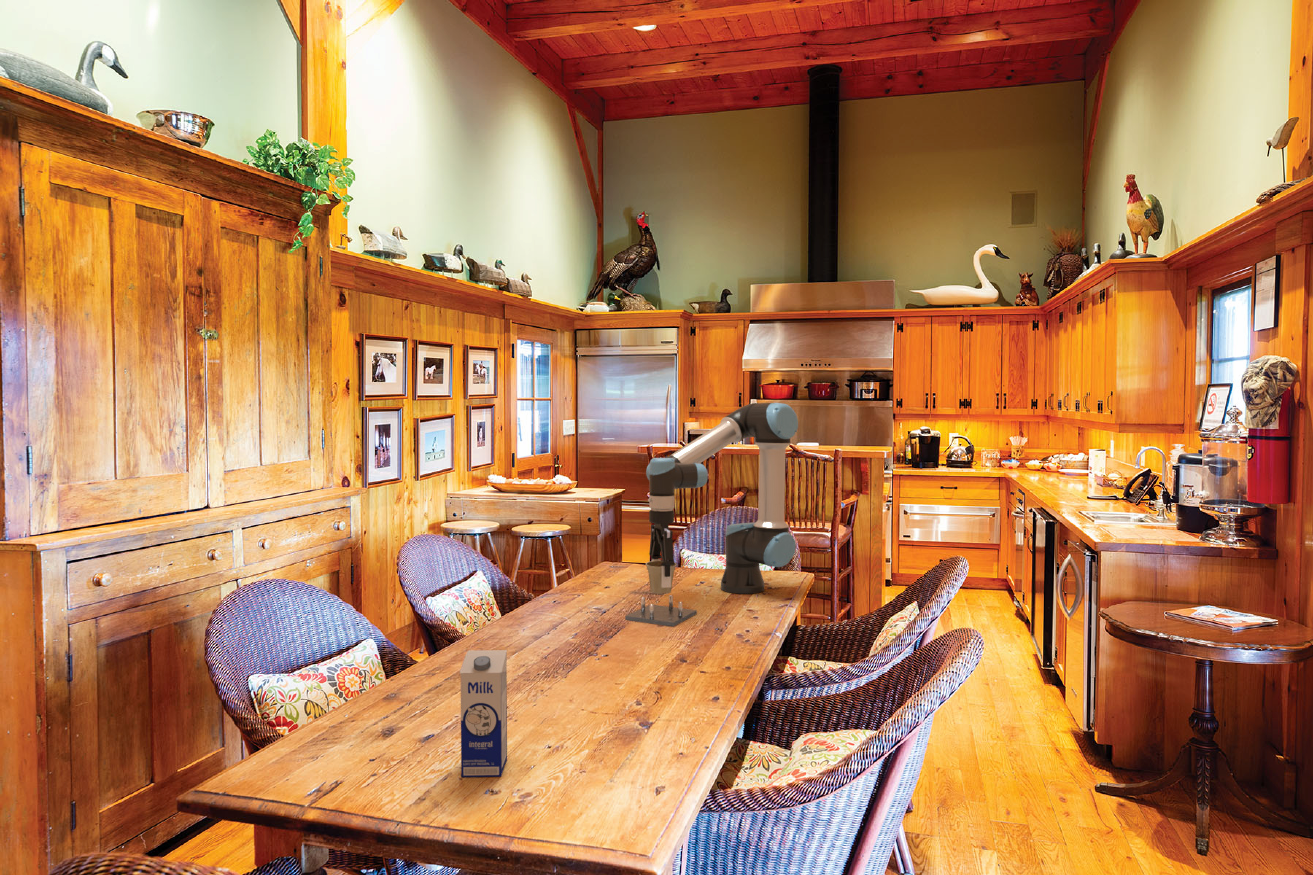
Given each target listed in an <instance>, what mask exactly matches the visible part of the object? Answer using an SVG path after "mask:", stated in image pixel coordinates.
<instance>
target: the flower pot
mask: <svg viewBox="0 0 1313 875" xmlns="http://www.w3.org/2000/svg"><path fill="white" fill-rule="evenodd" d="M662 563H663V561H662V560H661V561H652V560H651V561H647V562H646V563H645V566H646V570H647V572H648V582H649V588H650V592H651V593H652V594H655V595H663V594H666V595H668V594H670V593H672V588H673V587H672V586H673V580H674V579H673V578H674V574H675V570H676V567H677V566H678V565H677V562H675V561H674V564H672V565H671V587H667V588H662V566H661V564H662Z"/></svg>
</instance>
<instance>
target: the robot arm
mask: <svg viewBox="0 0 1313 875" xmlns="http://www.w3.org/2000/svg"><path fill="white" fill-rule="evenodd" d="M798 428H799V419H798V416H797V413H796V411H795V410H794V409H793V408H792V407H791V406H790V405H789V404H787V403H781V402H760V403H759V402H755V403H754V402H753V403H749V404H745V405H743V406H742V407H739V408H737V409H736V410H734V411H732V412H731V413H729V414H728V415H726V416H725V417H723V418H722V419H721V420H720V423H719V424H717V425H716V426H714V427H713V428H711V429H710V430H707V431H706V432H704V433H703V434H702V435H700V436H698V437H697V438H695V439H694V440H692V441H690V442H689V443H688V444H686V445H684V446H683V447H681V448H679V449H678V450H676V451H675V452H674V453H672V454H670V455H669V456H667V457H653V458H652V459H650V461H649V463H648V465H647V467H646V471H645V476H646V478H647V480H648V482H649V490H648V491H649V498H647V502H649V509H650V510H649V511H648V516H649V517H648V521H649V523H651V526H650V540H649V541H650V542H649V553H648V554H649V556H650V558H651V561H663V563H662V564H661V566H662V588H667V587H671V565H672V564H674V562H675V560H674V557H675V556H674V546H673V545H674V544H673V543H674V542H673V535H674V534H673V533H674V532H673V530H670V527H669V525H670V524H673V523H674V522H675V510H674V509H675V492H676V491H675V490H678V489H697V488H701V487H702V488H703V487H704V486H705V485H706V484H707V482H708V470H707V468H706V466H705V465H704V464H703V463H702V462H704V461H705V460H707V459H709V458H711V457H712V456H714V455H716V453H719V451H721V450H722V449H724V448H726V447H727V446H729V445H730V444H732V443H738V442H740V441H742V440H744V439H748V438H754V442H755V445H756V446H757V447H758V449H759V452H758V453H759V455H758V456H759V461H758V463H759V464H758V465H759V466H758V504H757V505H758V507H757V508H758V509H757V510H758V513H757V515H758V516H757V520H756V522H742V523H731V524H728V525H727V526H726V529H725V530H726V532H725V569H724V571H723V575H722V578H721V580H720V589H721V591H723V592H726V593H731V594H732V593H733V594H740V595H741V594H743V595H748V594H757V593H762V592H764V591H765V581H764V578H763V574H762V570H761V568H760V564H761V565H765V566H768V567H775V568H782V567H784V566H786V565H788V563H790V561H791V560H792V559H793V558H794V555H795V553H796V548H797V547H796V546H797V544H796V540H795V538H794V536H793V535H792V534H791V533H789V524H788V523H787V522H786V521H785V495H786V494H785V493H786V492H785V491H786V451H787V450H786V449H787V448H788V447H789V446H790V445H791V438H793V437H794V436H795V435H796V433H797V432H798Z"/></svg>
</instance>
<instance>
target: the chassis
mask: <svg viewBox="0 0 1313 875" xmlns="http://www.w3.org/2000/svg"><path fill="white" fill-rule="evenodd" d="M640 598H641V600H640V601H641V602H640V604H641V605H640V609H637V610H636V611H633V612H631V613H628V614H626V615H625V617H624V618H625V621H631V622H637V623H645V624H650V625H651V624H652V625H658V626H665V627H671V628H672V627H673V628H674V627H676V626H677V625H679V624H681V623H683V622H685V621H686V620H689V619H690V618H692V617H695V616H696V615H697V614H698V610H697V609H692V608H691V609H690V608H684V607H683V601H678V602H677V603H678V604H677V607H676V606H674V595H672V594H670V595H668V606H667V605H659V604H654V603H649V604H648V605H646V596H642V597H641V596H640Z"/></svg>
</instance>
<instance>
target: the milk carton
mask: <svg viewBox="0 0 1313 875" xmlns="http://www.w3.org/2000/svg"><path fill="white" fill-rule="evenodd" d="M507 660H508V650H507V649H503V650H502V649H495V650H494V649H493V650H492V649H491V650H490V649H489V650H488V649H487V650H486V649H484V650H483V649H482V650H473V649H472V650H466V654H465V656H464V659H463V661H462V665H461V668H460V670H459V674H460V675H459V676H460V752H461V753H460V758H461V759H460V765H461V766H460V767H461V768H460V769H461V770H460V772H461V773H460V777H461V778H496V777H497V778H501V777H502V775H503V771H504V770H505V766H506V764H507V761H508V699H507V698H508V695H507V693H508V692H507V690H508V689H507V688H508V686H507V685H508V684H507V683H508V682H507V681H508V680H507V674H508V673H507V671H508V670H507V669H508V668H507Z"/></svg>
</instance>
